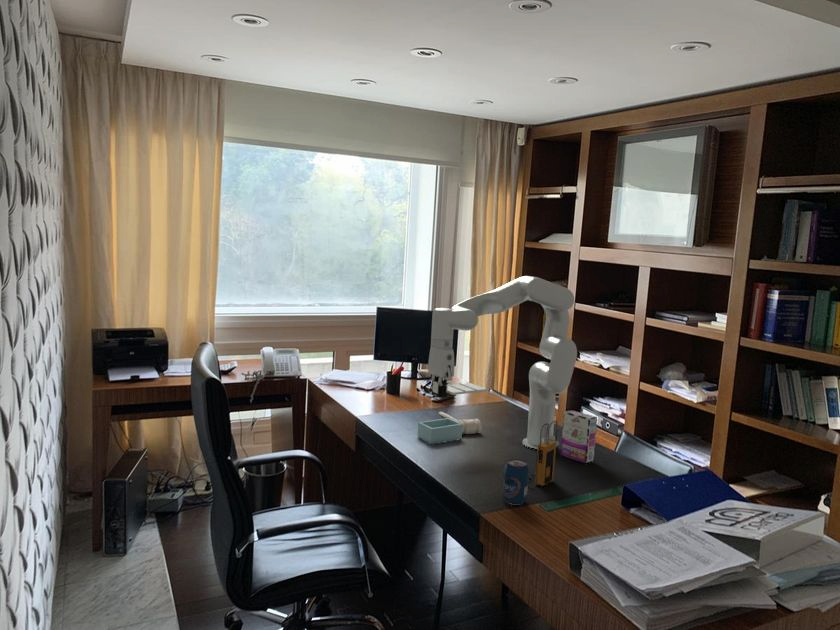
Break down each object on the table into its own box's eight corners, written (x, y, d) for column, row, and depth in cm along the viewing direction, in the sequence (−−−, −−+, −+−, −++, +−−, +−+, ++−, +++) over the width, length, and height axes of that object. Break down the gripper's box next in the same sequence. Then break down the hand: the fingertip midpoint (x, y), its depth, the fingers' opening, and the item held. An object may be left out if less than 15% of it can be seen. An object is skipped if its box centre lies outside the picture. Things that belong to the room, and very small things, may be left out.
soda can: (498, 502, 183) (500, 462, 181) (508, 495, 188) (511, 456, 187) (520, 509, 179) (523, 468, 177) (530, 501, 185) (533, 461, 183)
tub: (461, 439, 239) (462, 424, 238) (430, 444, 231) (431, 428, 230) (447, 432, 246) (448, 417, 245) (417, 437, 238) (418, 422, 238)
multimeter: (531, 470, 210) (535, 412, 208) (558, 478, 204) (563, 418, 201) (508, 482, 199) (512, 420, 196) (536, 491, 192) (541, 427, 190)
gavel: (428, 420, 272) (459, 437, 242) (428, 406, 271) (459, 421, 242) (450, 418, 275) (483, 435, 246) (450, 405, 275) (483, 420, 245)
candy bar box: (594, 462, 220) (598, 416, 218) (586, 465, 217) (589, 419, 215) (568, 453, 229) (571, 409, 227) (559, 455, 226) (563, 411, 224)
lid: (486, 391, 225) (487, 381, 225) (443, 396, 215) (443, 386, 215) (469, 385, 233) (470, 375, 233) (427, 389, 223) (427, 379, 223)
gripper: (464, 347, 213) (461, 400, 215) (437, 339, 227) (434, 389, 229) (446, 348, 209) (443, 402, 211) (419, 340, 223) (417, 391, 225)
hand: (438, 395), depth 220 cm, fingers closed on lid, 3 cm apart
